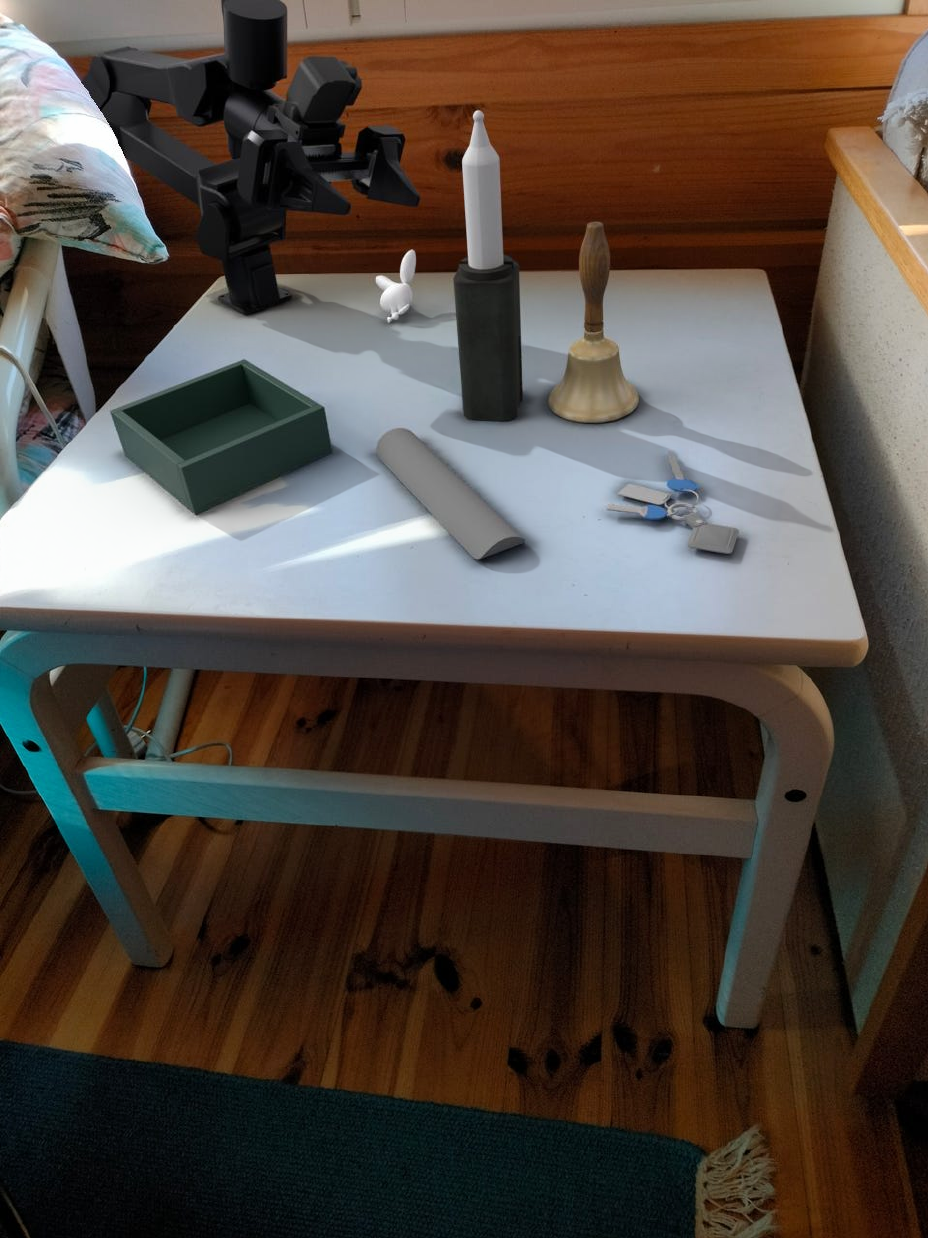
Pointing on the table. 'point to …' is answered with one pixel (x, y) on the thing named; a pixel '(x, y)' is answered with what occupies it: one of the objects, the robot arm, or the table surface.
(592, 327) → the hand bell
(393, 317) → the rabbit figurine
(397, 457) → the half round rod
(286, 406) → the bin
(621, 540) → the table surface
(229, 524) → the table surface
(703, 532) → the key chain
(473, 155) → the candle
